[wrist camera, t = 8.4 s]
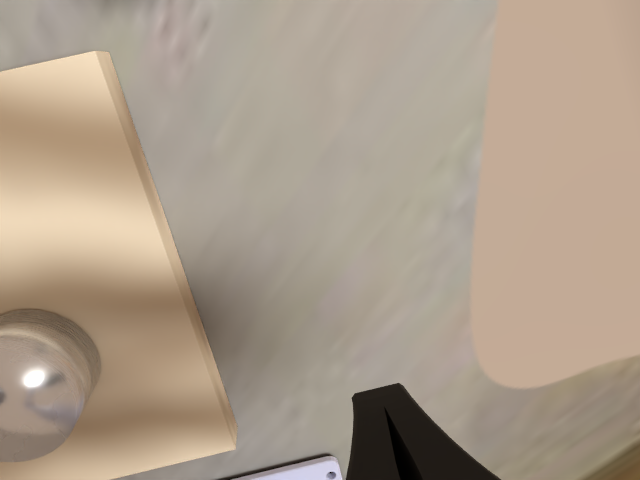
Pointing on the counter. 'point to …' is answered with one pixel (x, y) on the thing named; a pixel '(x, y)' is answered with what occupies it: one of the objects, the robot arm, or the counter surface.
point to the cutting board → (103, 274)
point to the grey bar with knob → (42, 381)
